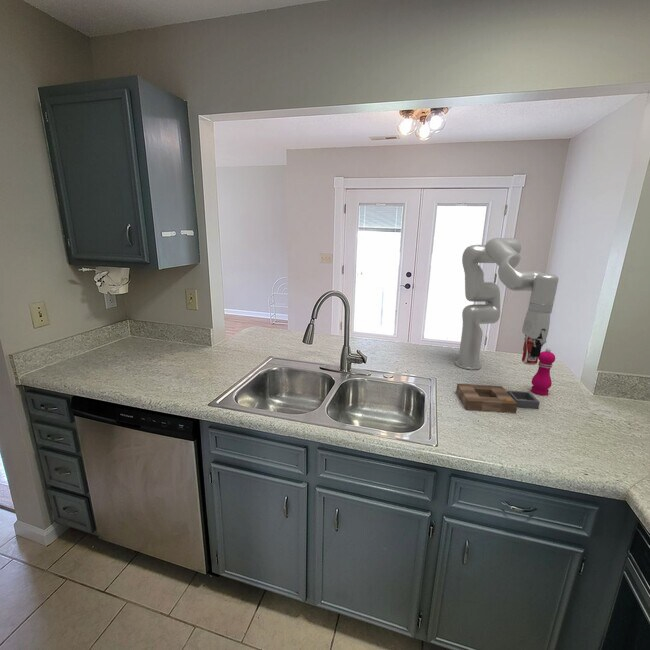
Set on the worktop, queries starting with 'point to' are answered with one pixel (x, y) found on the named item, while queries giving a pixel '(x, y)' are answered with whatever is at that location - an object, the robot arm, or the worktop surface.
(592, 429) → the worktop surface
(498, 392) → the block
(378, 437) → the worktop surface
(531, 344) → the soda can
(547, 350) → the pepper mill
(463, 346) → the robot arm
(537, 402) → the holster
